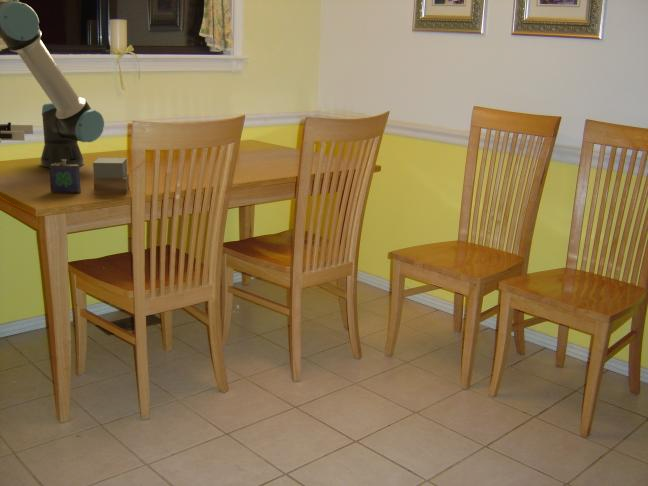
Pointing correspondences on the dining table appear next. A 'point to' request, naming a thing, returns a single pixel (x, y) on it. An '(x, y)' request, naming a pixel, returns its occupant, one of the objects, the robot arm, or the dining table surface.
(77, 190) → the flask
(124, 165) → the tower top
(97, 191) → the tower base
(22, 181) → the dining table surface
